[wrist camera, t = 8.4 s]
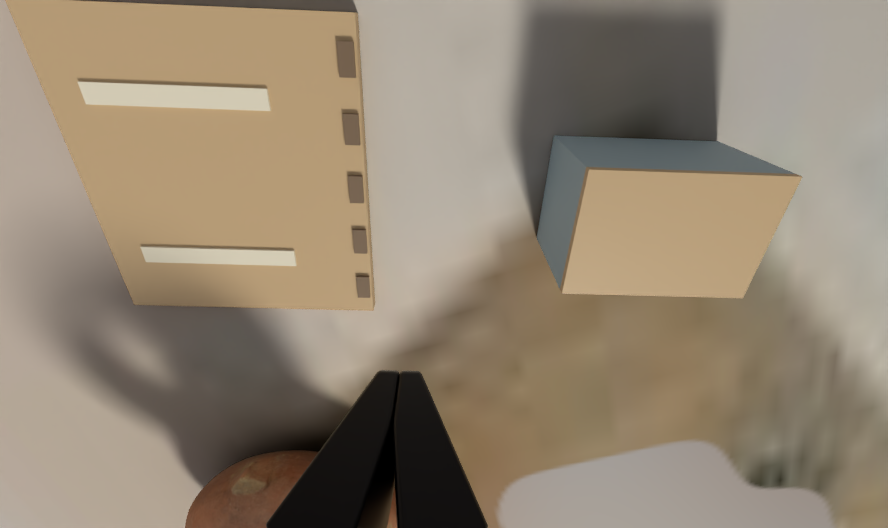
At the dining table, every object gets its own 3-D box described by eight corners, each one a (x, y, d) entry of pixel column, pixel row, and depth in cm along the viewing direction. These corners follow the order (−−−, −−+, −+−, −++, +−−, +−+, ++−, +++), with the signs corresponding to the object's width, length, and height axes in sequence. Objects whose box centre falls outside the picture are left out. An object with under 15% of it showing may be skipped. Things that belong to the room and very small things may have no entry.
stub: (717, 141, 17) (802, 176, 13) (680, 242, 20) (742, 298, 16) (553, 135, 17) (589, 169, 13) (536, 238, 20) (561, 293, 16)
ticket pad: (357, 12, 15) (354, 12, 14) (374, 303, 21) (372, 312, 21) (19, -2, 15) (-1, -3, 14) (141, 298, 21) (132, 306, 20)
